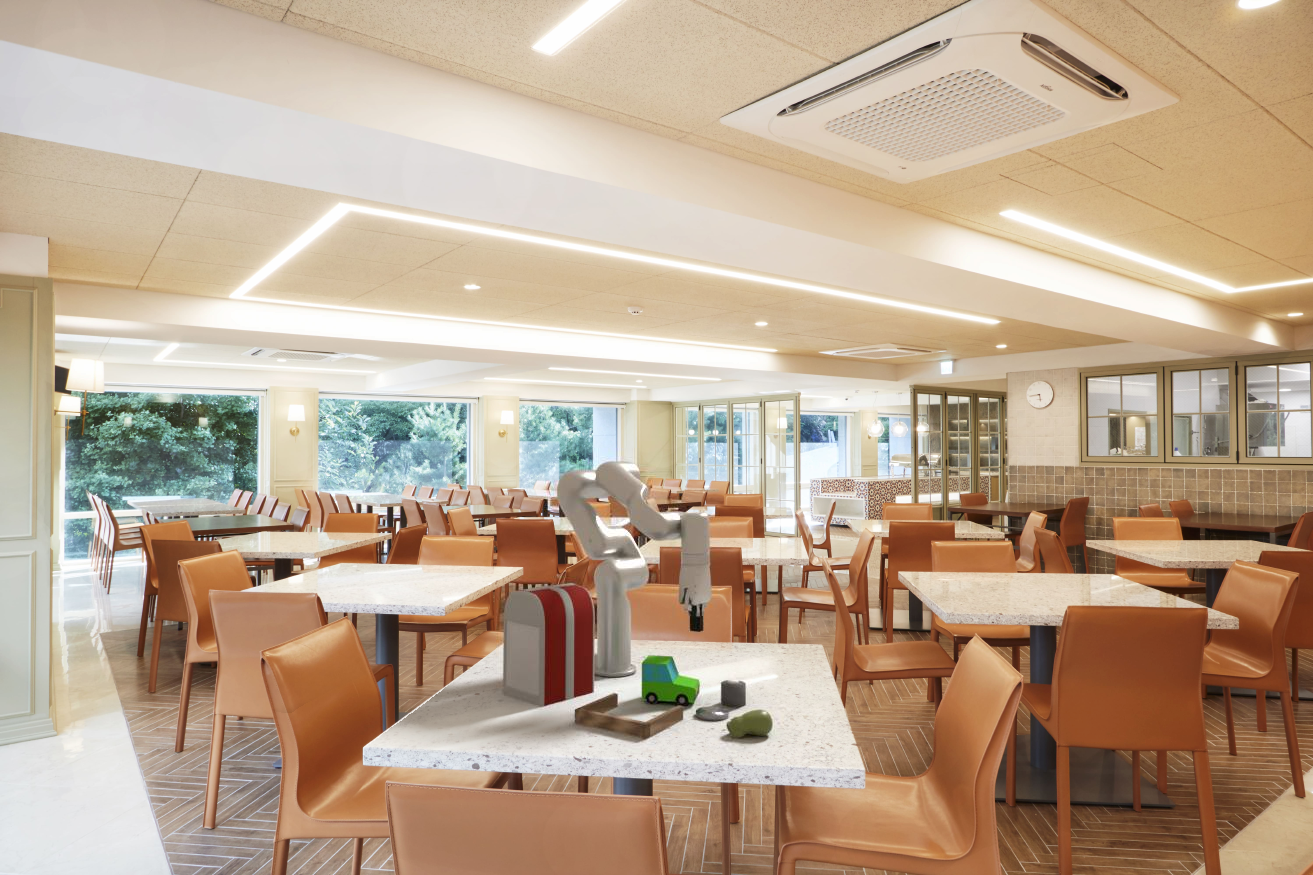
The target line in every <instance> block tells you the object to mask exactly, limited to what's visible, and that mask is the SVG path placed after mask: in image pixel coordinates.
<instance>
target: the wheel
mask: <svg viewBox="0 0 1313 875" xmlns="http://www.w3.org/2000/svg"><path fill="white" fill-rule="evenodd" d="M746 687H747V683H746V682H744V681H743V680H738V679H731V678H730V679H728V680H727V679H726V680H722V681H721V682H720V705H721V706H723V707H725V708H735V709H737V708H743V707H745V706H746V705H747V704H746V701H747V699H746V698H747V695H746V693H747V692H746V691H747V690H746Z"/></svg>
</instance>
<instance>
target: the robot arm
mask: <svg viewBox="0 0 1313 875" xmlns="http://www.w3.org/2000/svg"><path fill="white" fill-rule="evenodd" d="M641 478H642V476H641V472H640V469H639V467H637V465H636V464H634V463H632V462H630V461H620V460H619V461H616V460H615V461H614V460H613V461H612V460H611V461H605V462H603V463H601V464H600V465H598V467H597V468H596V469H575V470H570V471H567V472H565V473H563V474H562V475H561V477H560V478H559V480H558V482H557V488H556V497H557V502H558V505H559V506H560V509H561V510H562V513H563V514H564V516H565V517H566V519H567V521H569V524H570V525H571V527H572V529H573V531H574V534H576V537H577V539H578V540H579V543H580V544H581V547H582V549H583V551H584V552H585V555H586V557H588V558H589V559H590V560H593V561H602V562H601V563H599V564H598V565H597V567H596V568H595V571H594V573H593V582H594V587H595V594H596V605H597V606H596V607H597V609H596V611H597V615H596V616H597V623H596V624H597V625H596V626H597V627H596V628H597V631H596V632H597V633H596V636H597V637H596V638H597V640H596V641H597V642H596V646H597V647H596V651H597V652H596V653H595V652H594V675H597V676H600V677H606V678H607V677H611V678H612V677H613V678H615V677H616V678H618V677H628V676H631V675H633V674H635V673H636V672H637V667H636V665H635V664H633V663H631V662H632V659H631V658H632V657H631V656H632V655H631V653H632V651H631V650H632V646H631V645H632V642H631V641H632V629H631V628H632V611H631V610H632V609H631V608H632V607H631V603H630V599H629V598H628V595H627V592H629V591H633V590H639V589H641V588H642V587H644V586H645V585H646V584H647V582H649V579H650V578H649V577H650V571H649V566H648V564H647V562H646V559H645V557H644V556H643V554H642V552H641V550H640V549H639V547H638V545H637V543H636V541H635V539H634V538H633V536H632V535H631V533H630V532H629V530H627V529H626V528H624V527H622V526H618V525H612V526H608V525H605V523H604V522H603V520H602V519H601V517H600V515H599V512H598V511H597V509H595V507H594V506H593V505H591V504H590V503H589V502H588V501H587V499H600V498H607V497H612V498H613V499H614V500H616V501H617V502H618V503H619V504H621V506H623V507H624V508H625V509H626V513H627V517H628V520H629V521H630V523H631V525H633V527H635V528H636V529H637V530H638V531H640V532H641V533H642V534H643V535H644V536H646V537H647V538H649V539H650V540H653V541H656V542H661V541H662V542H664V541H670V540H671V541H672V540H673V541H674V540H680V542H681V543H680V547H681V548H680V549H681V550H680V551H681V552H680V553H681V554H680V555H681V559H680V560H681V566H680V571H679V579H678V603H679V604H680V605H683V606H684V607H683V610H684V611H687V612H688V616H689V631H690V632H696V633H700V632H703V631H704V615H705V608H706V607H707V606H708V605H709V602H710V601H711V599H712V579H711V578H712V577H711V570H710V567H711V549H710V547H711V543H710V542H711V541H710V539H711V537H710V531H711V530H710V517H709V514H707V513H705V512H684V511H676V510H675V511H660V512H659V511H657V510H656V509H655V508H653V507H652V506H651V505H649V503H647V500H648V497H649V494H650V492H649V487H648V486H647V485H646V483H644V482H642V481H641V480H642V479H641Z"/></svg>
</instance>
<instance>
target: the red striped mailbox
mask: <svg viewBox="0 0 1313 875" xmlns="http://www.w3.org/2000/svg"><path fill="white" fill-rule="evenodd" d="M595 619H596V618H595V605H594V600H593V598H592V595H591V593H590V591H589V590H588V589H587V588H586V587H583V586H580V585H578V584H577V583H573V582H569V583H562V584H554V585H541V586H535V587H534V588H526V589H525V588H524V589H519V590H518V589H517V590H513V591H512V592H510V593H509V595H508V597H507V599H506V601H505V604H504V611H503V649H502V650H503V652H502V653H503V654H502V655H503V658H502V659H503V661H502V662H503V663H502V668H503V669H502V672H503V673H502V674H503V675H502V694H503V695H505V696H508V697H511V698H513V699H516V700H519V701H522V702H524V703H528V704H531V705H534V706H537V707H540V708H541V707H546V706H551V705H553V704H558V703H561V702H565V701H569V700H574V699H575V698H579V697H584V696H586V695H590V694H593V693H595V674H594V653H595V629H596V628H595V627H596V626H595V625H596V624H595V622H596V621H595Z"/></svg>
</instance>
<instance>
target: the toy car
mask: <svg viewBox="0 0 1313 875" xmlns="http://www.w3.org/2000/svg"><path fill="white" fill-rule="evenodd" d="M679 673H680V672H679V671H678V668H677V665H676V663H675V660H674V657H673V656H671V655H654V654H653V655H652V654H650V655H649V654H648V655H647V657H645V658H644V660H643V661H642V662H641V700H643V701H646V704H648V705H656V704H657V703H658V702H676V704H677V706H678V705H680V706H683V707H686V706H687V705H688V703H695V701H696V700H697V698H698V697H699V694H700V687H701V682H700V679H697V678H695V677H694V678H693V677H690V676H689V677H688V676H686V675H680V674H679Z"/></svg>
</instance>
